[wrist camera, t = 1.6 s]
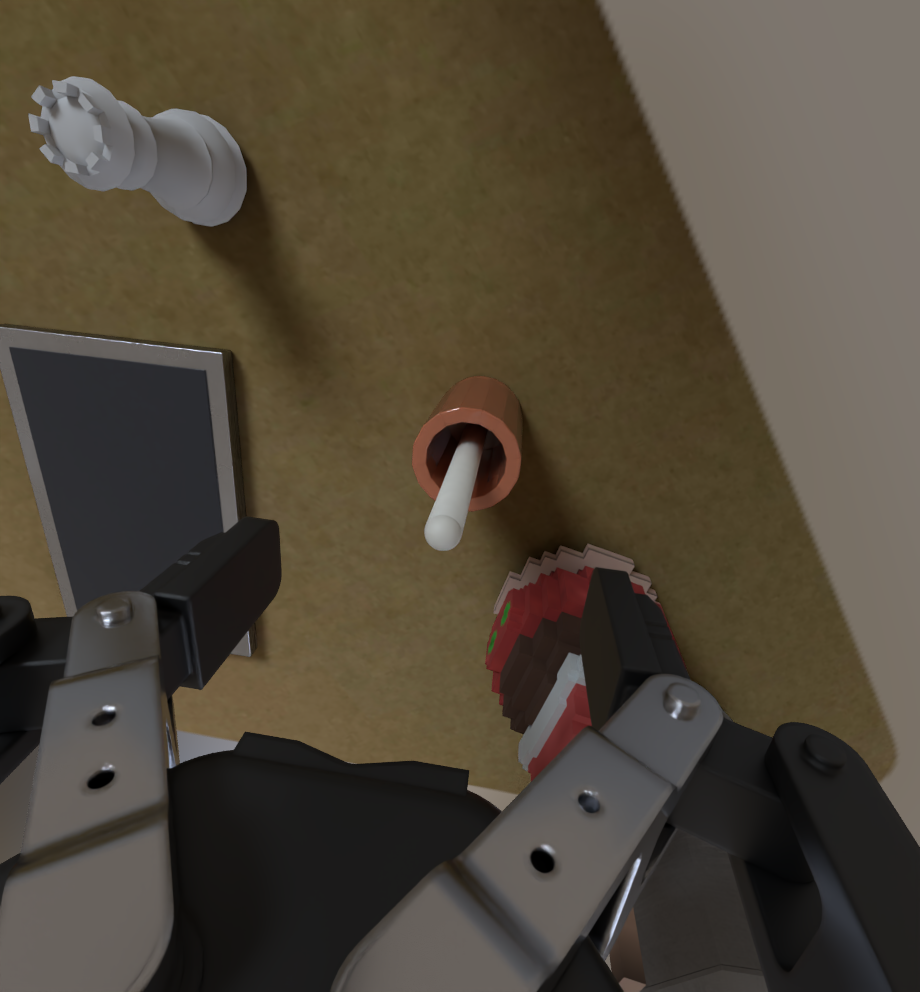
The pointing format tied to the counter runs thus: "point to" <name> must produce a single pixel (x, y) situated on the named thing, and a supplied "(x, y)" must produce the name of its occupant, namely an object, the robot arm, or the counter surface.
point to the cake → (555, 676)
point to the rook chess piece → (142, 150)
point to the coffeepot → (695, 923)
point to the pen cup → (502, 446)
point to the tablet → (124, 453)
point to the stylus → (456, 491)
